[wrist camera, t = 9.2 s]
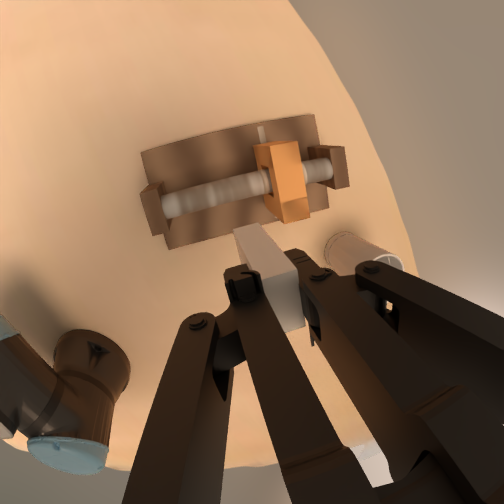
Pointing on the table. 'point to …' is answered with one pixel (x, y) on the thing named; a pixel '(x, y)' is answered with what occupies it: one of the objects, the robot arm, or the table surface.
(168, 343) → the table surface
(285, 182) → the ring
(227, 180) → the pipe stand
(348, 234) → the cup
